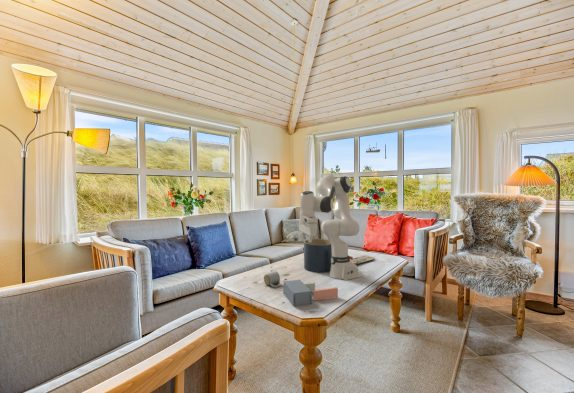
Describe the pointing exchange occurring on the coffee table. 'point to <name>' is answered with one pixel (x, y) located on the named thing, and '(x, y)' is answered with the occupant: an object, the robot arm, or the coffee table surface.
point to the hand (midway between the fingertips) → (307, 240)
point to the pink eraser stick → (325, 293)
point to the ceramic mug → (272, 279)
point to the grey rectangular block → (297, 292)
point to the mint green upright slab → (310, 286)
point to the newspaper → (361, 259)
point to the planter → (317, 255)
